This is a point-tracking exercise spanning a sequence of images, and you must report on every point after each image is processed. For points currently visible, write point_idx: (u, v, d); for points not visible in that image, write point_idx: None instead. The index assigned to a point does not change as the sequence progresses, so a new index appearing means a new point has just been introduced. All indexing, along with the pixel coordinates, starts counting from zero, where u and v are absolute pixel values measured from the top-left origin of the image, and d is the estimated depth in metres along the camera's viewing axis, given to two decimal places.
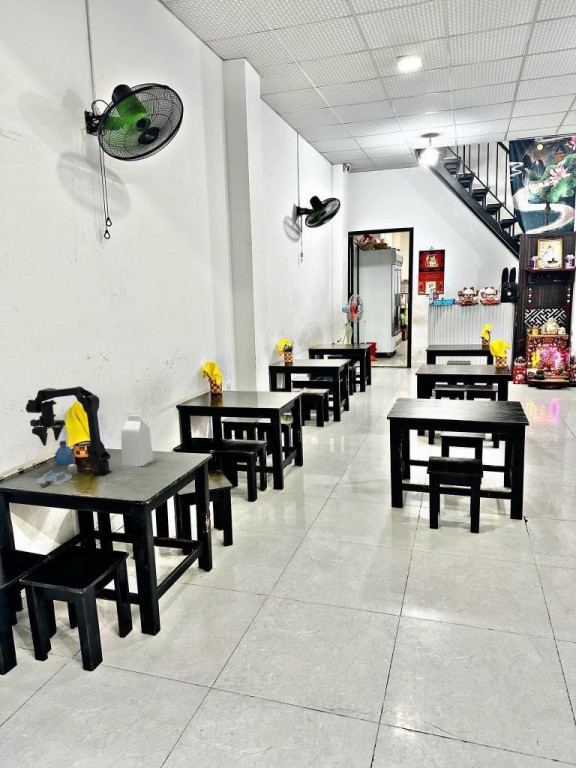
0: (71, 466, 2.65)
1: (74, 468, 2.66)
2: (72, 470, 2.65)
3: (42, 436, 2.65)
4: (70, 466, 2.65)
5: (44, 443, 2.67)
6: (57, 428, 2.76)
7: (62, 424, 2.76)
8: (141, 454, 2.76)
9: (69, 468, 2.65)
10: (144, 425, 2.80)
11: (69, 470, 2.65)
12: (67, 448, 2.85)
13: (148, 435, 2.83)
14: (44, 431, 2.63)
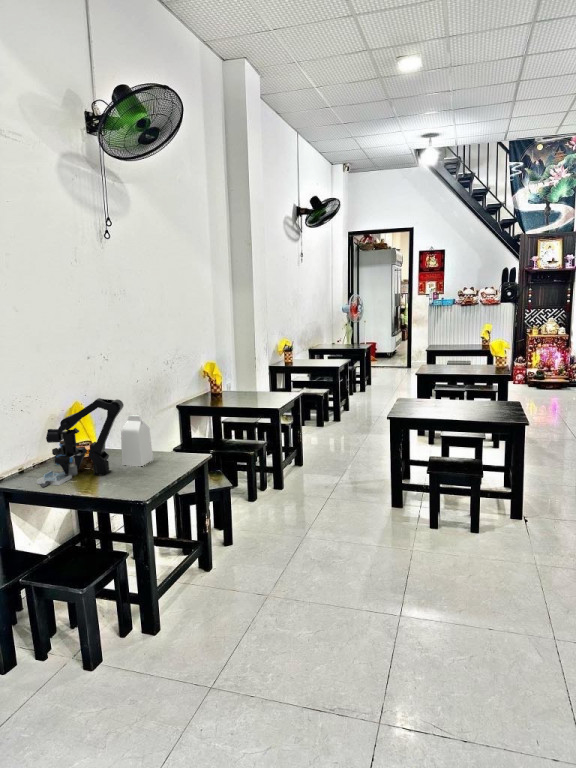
0: (71, 466, 2.65)
1: (74, 468, 2.66)
2: (72, 470, 2.65)
3: (65, 465, 2.61)
4: (70, 466, 2.65)
5: (66, 472, 2.62)
6: (79, 456, 2.71)
7: (84, 452, 2.72)
8: (141, 454, 2.76)
9: (69, 468, 2.65)
10: (144, 425, 2.80)
11: (69, 470, 2.65)
12: None
13: (148, 435, 2.83)
14: (67, 461, 2.58)
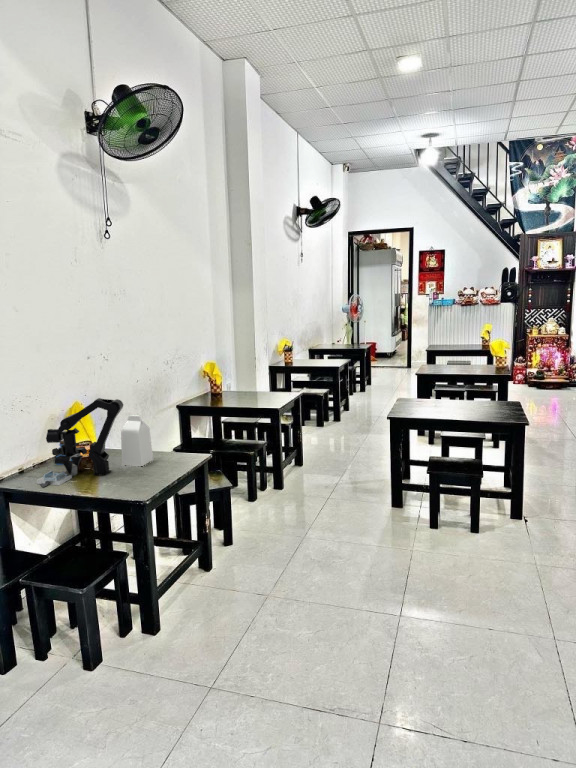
0: None
1: (74, 468, 2.66)
2: (72, 470, 2.65)
3: (67, 464, 2.63)
4: None
5: (69, 471, 2.64)
6: (76, 458, 2.69)
7: (84, 452, 2.72)
8: (141, 454, 2.76)
9: None
10: (144, 425, 2.80)
11: None
12: None
13: (148, 435, 2.83)
14: (67, 461, 2.58)
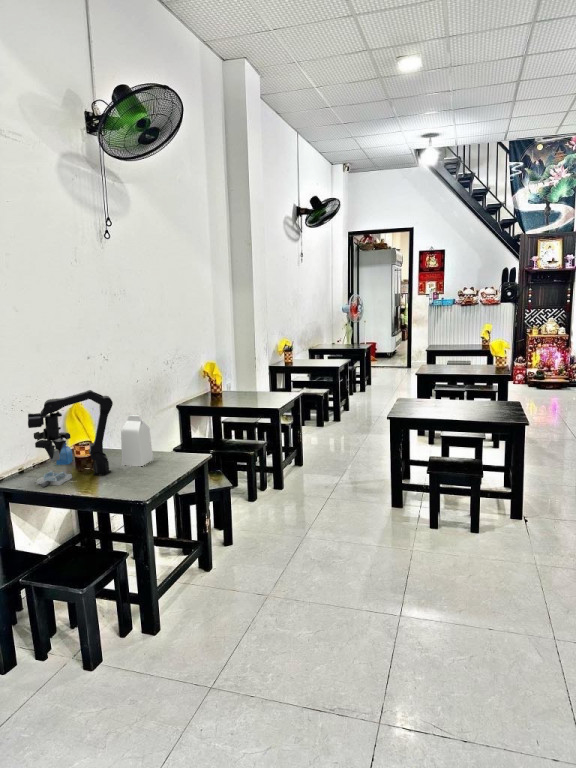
0: None
1: (56, 453, 2.56)
2: (54, 455, 2.56)
3: (49, 449, 2.54)
4: None
5: (51, 456, 2.55)
6: (59, 442, 2.59)
7: (67, 437, 2.62)
8: (141, 454, 2.76)
9: None
10: (144, 425, 2.80)
11: None
12: (67, 448, 2.85)
13: (148, 435, 2.83)
14: (48, 445, 2.49)
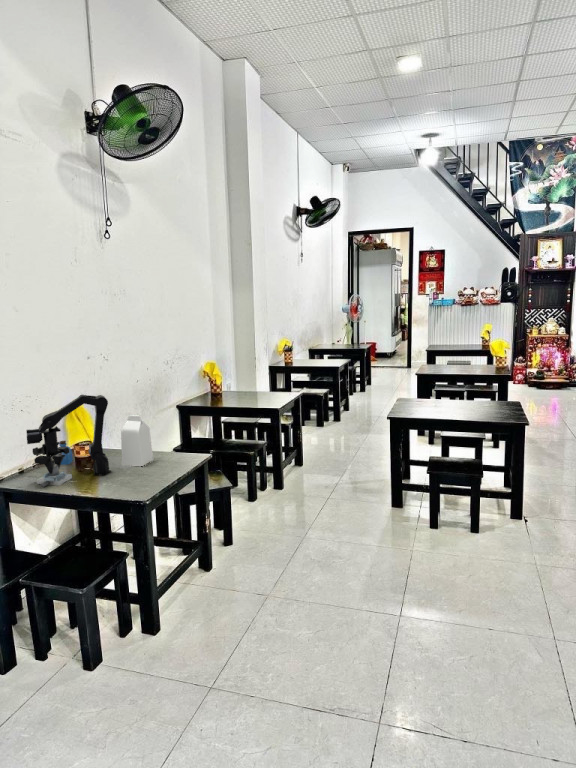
0: None
1: (55, 468, 2.56)
2: (53, 470, 2.56)
3: (48, 464, 2.54)
4: None
5: (50, 471, 2.55)
6: (58, 457, 2.59)
7: (66, 452, 2.62)
8: (141, 454, 2.76)
9: None
10: (144, 425, 2.80)
11: None
12: None
13: (148, 435, 2.83)
14: (47, 461, 2.49)
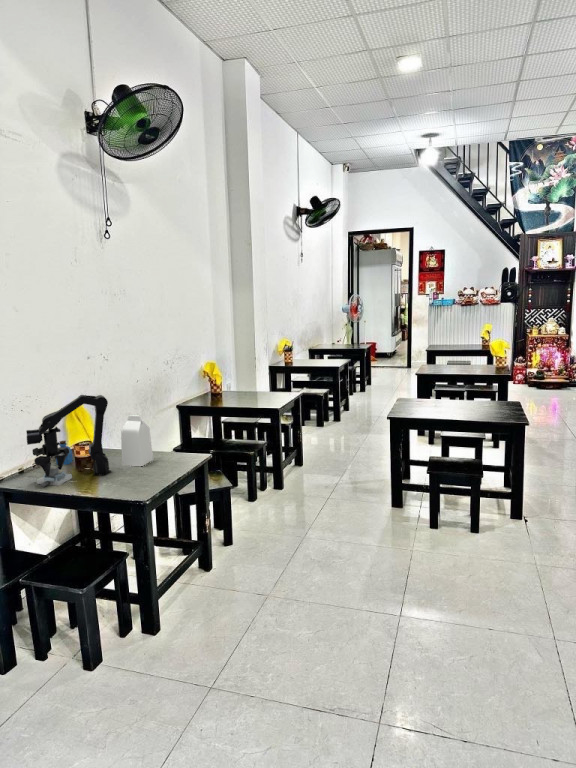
0: (52, 468, 2.56)
1: (56, 470, 2.56)
2: (53, 472, 2.56)
3: (45, 466, 2.51)
4: (51, 468, 2.56)
5: (47, 473, 2.53)
6: (61, 456, 2.61)
7: (66, 452, 2.62)
8: (141, 454, 2.76)
9: (50, 470, 2.56)
10: (144, 425, 2.80)
11: (50, 472, 2.56)
12: None
13: (148, 435, 2.83)
14: (47, 461, 2.49)
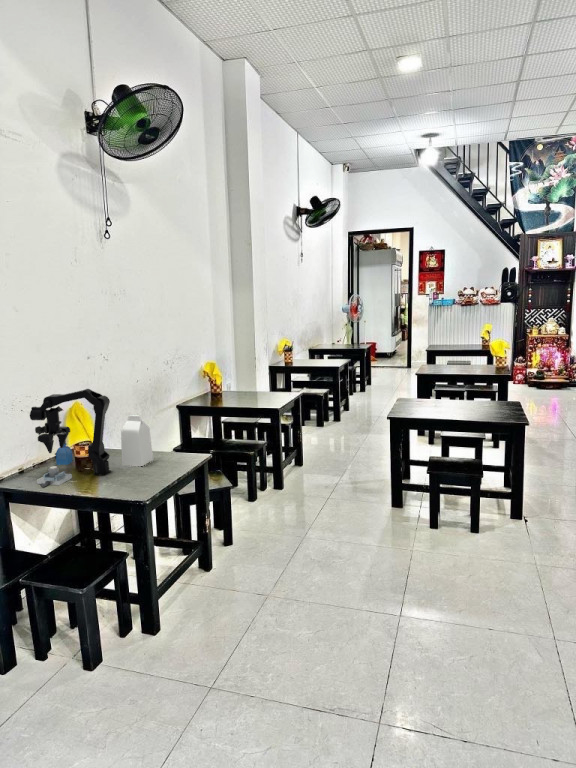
0: (52, 468, 2.56)
1: (55, 470, 2.56)
2: (53, 472, 2.56)
3: (48, 443, 2.61)
4: (51, 468, 2.56)
5: (50, 450, 2.62)
6: (62, 435, 2.71)
7: (67, 431, 2.72)
8: (141, 454, 2.76)
9: (50, 470, 2.56)
10: (144, 425, 2.80)
11: (50, 472, 2.56)
12: (67, 448, 2.85)
13: (148, 435, 2.83)
14: (50, 438, 2.58)
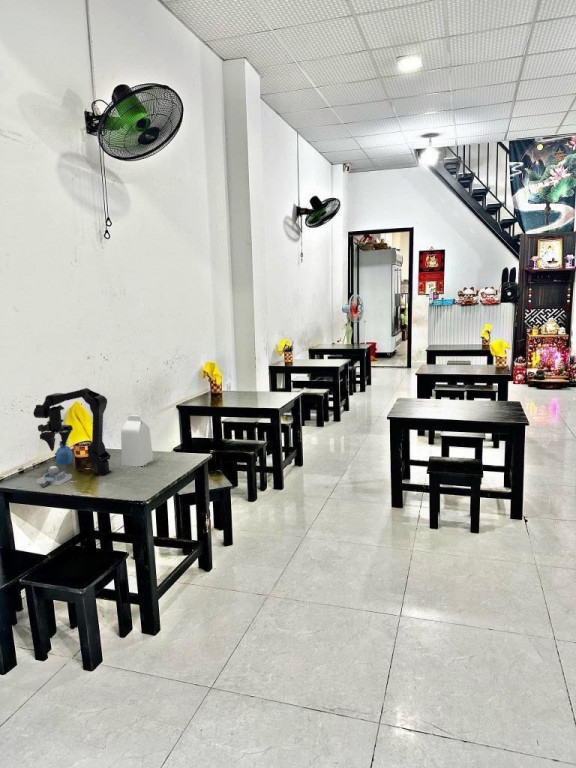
0: (52, 468, 2.56)
1: (55, 470, 2.56)
2: (53, 472, 2.56)
3: (50, 441, 2.65)
4: (51, 468, 2.56)
5: (52, 448, 2.66)
6: (65, 433, 2.75)
7: (69, 429, 2.76)
8: (141, 454, 2.76)
9: (50, 470, 2.56)
10: (144, 425, 2.80)
11: (50, 472, 2.56)
12: (67, 448, 2.85)
13: (148, 435, 2.83)
14: (52, 436, 2.62)
